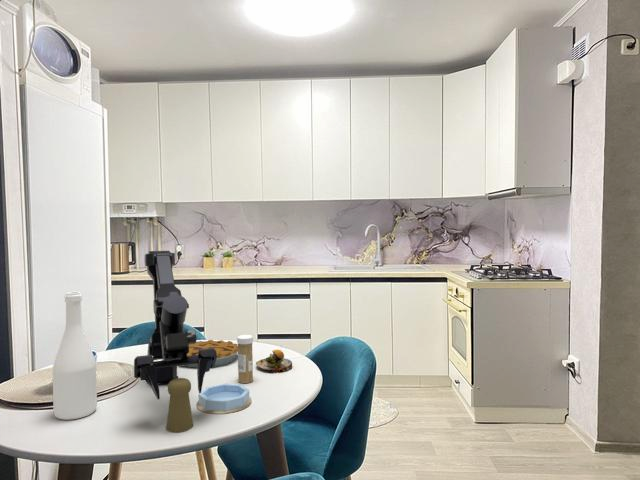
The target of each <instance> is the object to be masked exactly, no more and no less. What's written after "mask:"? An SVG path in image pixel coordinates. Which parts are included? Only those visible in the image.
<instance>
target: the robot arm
mask: <svg viewBox="0 0 640 480" xmlns="http://www.w3.org/2000/svg"><path fill="white" fill-rule="evenodd" d="M175 253H176V252H175ZM175 253H174V252H171V251H170V250H149V251H148V253H145V254H144V266H145V267H146V273H147V275H148V276H149V277H150V278H151V280H152V284H153V285H152V286H153V287H152V288H153V305H152V307H153V314H154V326H155V327H154V330H153V331H152V332H153V333H152V334H151V336H150V338H149V340H150V341H149V342H148V344H147V354H145V355H139V356H138V355H137V356H135V358H134V359H133V376H134V378H135V379H140V381H145V382H146V383H147V384H148V386H149V387H150V389H151V391H152V392H153V394H154V397H155V398H156V399H157V400H160V398H161V395H160V387H159V385H165V386H168V384H169V382H170V381H171V380H173V379H177V378H179V376H178V367H179V366H182V365H189V364H197V365H198V368H197V370H196V371H197V372H196V374H197V390H198V391H197V392H198V394H199V393H201V392H202V391H203V383H204V379H205V375H206V373H208V372H210V370H211V369H213V368H215V367H214V366H215V362H216V359H217V353H216V350H215V349H214V348H207V349H199V353H198V355H195V356H188V355H187V353H189V344H195V343H196V342H197V333H196V329H194V328H193V329H187V331H186V332H185V328H184V327H185V326H184V323H185V321H186V316H187V312H188V309H189V307H190V304H189V303H188V300H187V299H186V298H185V297H184V296H182V291H181V290H180V288H178V287H177V286H176V285H175V280H174V279H175V277H174V274H173V266H175V265H176V254H175Z"/></svg>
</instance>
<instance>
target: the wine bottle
mask: <svg viewBox="0 0 640 480" xmlns="http://www.w3.org/2000/svg"><path fill="white" fill-rule="evenodd" d="M82 297H83V296H82V294H81V291H68V292H65V294H64V303H65V328H64V333H63V335H62V339H61V341H60V345H59V348H58V350H57V353H56V356H55V358H54V362H53V366H52V401H53V403H52V404H53V405H52V406H53V409H52V410H53V415H54V417H55V418H56V419H59V420H65V421H66V420H67V421H69V420H71V421H72V420H78V419H81V418H84V417H87V416H90V415H91V414H93V413H94V412H95V411H96V409H97V407H98V399H97V398H98V391H97V389H98V386H97V385H98V383H97V382H98V381H97V380H98V379H97V361H96V358H95V355H94V353H93V351H92V348H91V346H90V343H89V341H88V339H87V335H86V333H85V330H84V327H83V323H82V305H81V304H82V303H81V302H82V301H83V300H82Z"/></svg>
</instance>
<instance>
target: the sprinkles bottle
mask: <svg viewBox="0 0 640 480" xmlns="http://www.w3.org/2000/svg"><path fill="white" fill-rule="evenodd" d="M236 340H237V341H236V342H237V343H236V344H237V345H238V353H237V371H238V372H237V373H238V374H237V375H238V377H237V378H238V379H237V382H238V383H240V384H248V383H252V382H253V381H254V375H253V373H254V372H253V371H254V366H253V365H254V363H253V362H254V361H253V343H254V336H253V335H251V334H240V335H239V336H237V337H236Z"/></svg>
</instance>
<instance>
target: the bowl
mask: <svg viewBox="0 0 640 480" xmlns="http://www.w3.org/2000/svg"><path fill="white" fill-rule="evenodd" d="M249 396H250V389H249V388H247V387H245V386H244V385H242V384H237V383H235V384H234V383H221V384H215V385H212V386H211V385H210V386H207V387H205V388H204V389H202V390H201V393H199V392H198V400H199V404H200V405H201V406H202V407H203V408H204V409H205V410H212V411H229V410H233V409H237V408H240V407H244V405H245V404H246V403H247V402H248V401H249Z"/></svg>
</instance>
